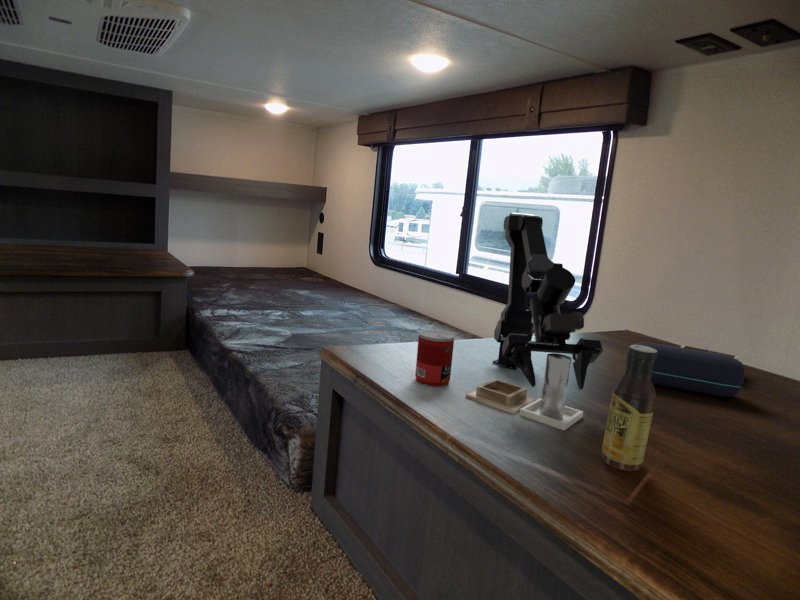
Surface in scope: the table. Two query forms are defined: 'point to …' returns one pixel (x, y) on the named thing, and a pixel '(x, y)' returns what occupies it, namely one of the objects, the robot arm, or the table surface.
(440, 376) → the canned food
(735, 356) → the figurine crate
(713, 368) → the portable speaker
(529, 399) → the wooden socket base
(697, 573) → the table surface
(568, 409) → the tray
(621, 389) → the sauce bottle
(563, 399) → the cylinder
